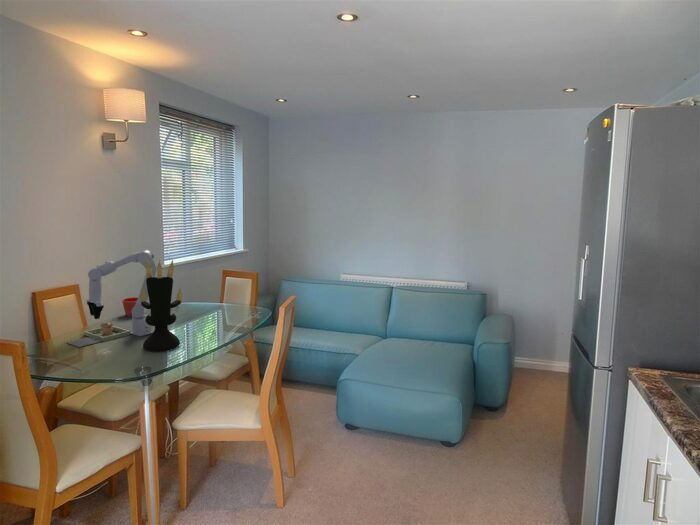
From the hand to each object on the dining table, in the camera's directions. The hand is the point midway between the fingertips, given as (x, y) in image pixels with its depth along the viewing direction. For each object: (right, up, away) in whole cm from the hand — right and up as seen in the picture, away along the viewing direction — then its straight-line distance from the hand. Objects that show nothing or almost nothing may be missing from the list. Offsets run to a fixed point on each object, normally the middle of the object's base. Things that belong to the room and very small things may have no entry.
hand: (95, 317), depth 250 cm
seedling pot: (+5, -10, +2) cm, 11 cm away
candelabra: (+41, -14, -16) cm, 46 cm away
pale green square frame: (+5, -10, +2) cm, 11 cm away
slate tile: (+1, -11, -12) cm, 16 cm away
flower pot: (+1, -4, +42) cm, 42 cm away
